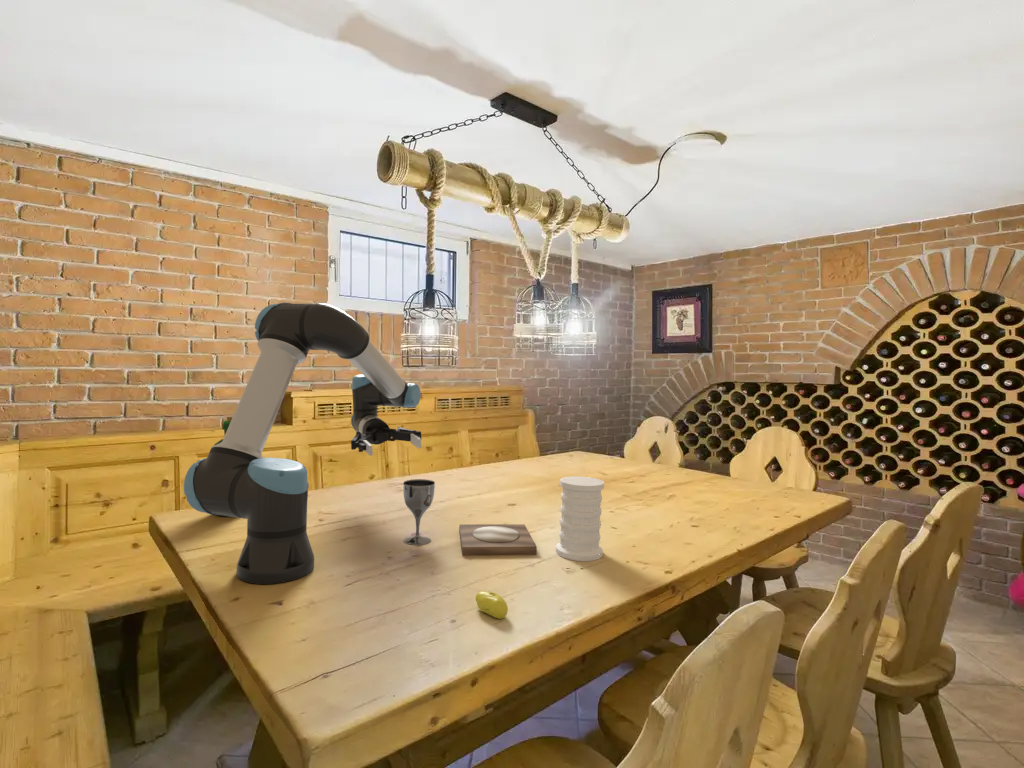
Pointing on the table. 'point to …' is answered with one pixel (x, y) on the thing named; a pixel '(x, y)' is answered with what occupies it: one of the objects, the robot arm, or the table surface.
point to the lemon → (492, 604)
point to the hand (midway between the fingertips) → (396, 447)
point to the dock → (496, 539)
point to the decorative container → (580, 518)
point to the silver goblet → (418, 504)
